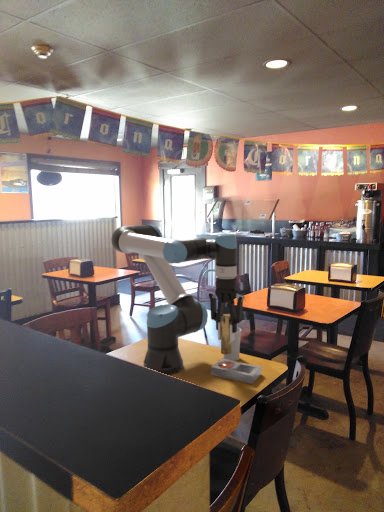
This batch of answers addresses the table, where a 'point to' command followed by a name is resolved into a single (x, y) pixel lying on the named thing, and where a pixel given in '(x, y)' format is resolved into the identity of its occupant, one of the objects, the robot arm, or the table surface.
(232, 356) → the cup
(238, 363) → the plate with copper dome
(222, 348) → the brass cylinder with tabs
